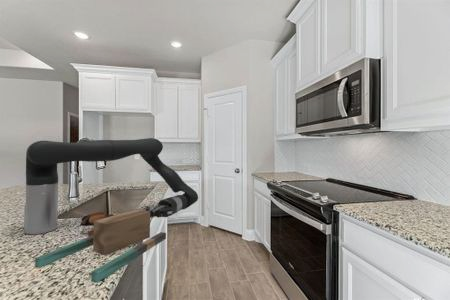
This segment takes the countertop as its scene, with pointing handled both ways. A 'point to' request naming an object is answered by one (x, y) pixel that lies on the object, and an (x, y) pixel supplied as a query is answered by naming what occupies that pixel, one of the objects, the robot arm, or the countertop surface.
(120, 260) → the lane
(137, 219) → the walnut block
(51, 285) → the countertop surface
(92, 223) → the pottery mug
